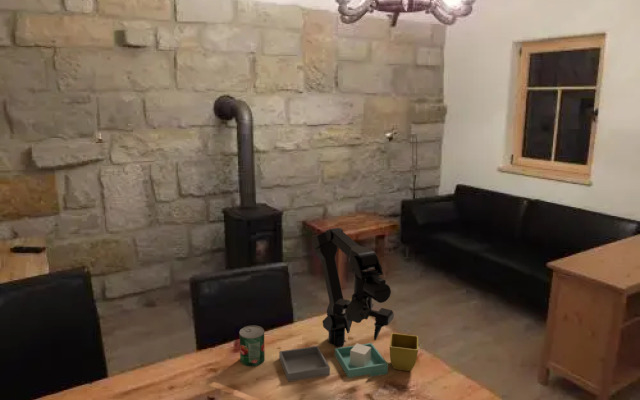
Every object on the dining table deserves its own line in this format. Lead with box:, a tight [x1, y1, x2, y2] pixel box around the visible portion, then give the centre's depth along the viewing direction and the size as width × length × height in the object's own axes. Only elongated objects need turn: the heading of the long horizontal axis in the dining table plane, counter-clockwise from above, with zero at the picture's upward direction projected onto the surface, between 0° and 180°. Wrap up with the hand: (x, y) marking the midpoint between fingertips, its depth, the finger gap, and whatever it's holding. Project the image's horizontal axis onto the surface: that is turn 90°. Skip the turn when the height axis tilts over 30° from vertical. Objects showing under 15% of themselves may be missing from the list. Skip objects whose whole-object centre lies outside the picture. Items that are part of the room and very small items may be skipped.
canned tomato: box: [239, 325, 266, 368], centre depth 151 cm, size 8×8×11 cm
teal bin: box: [334, 342, 389, 378], centre depth 150 cm, size 13×13×4 cm
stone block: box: [350, 342, 371, 367], centre depth 150 cm, size 5×5×5 cm
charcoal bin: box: [278, 345, 331, 382], centre depth 148 cm, size 13×13×4 cm
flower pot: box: [389, 332, 419, 372], centre depth 150 cm, size 9×9×9 cm
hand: (361, 336), depth 148 cm, fingers open, 9 cm apart
